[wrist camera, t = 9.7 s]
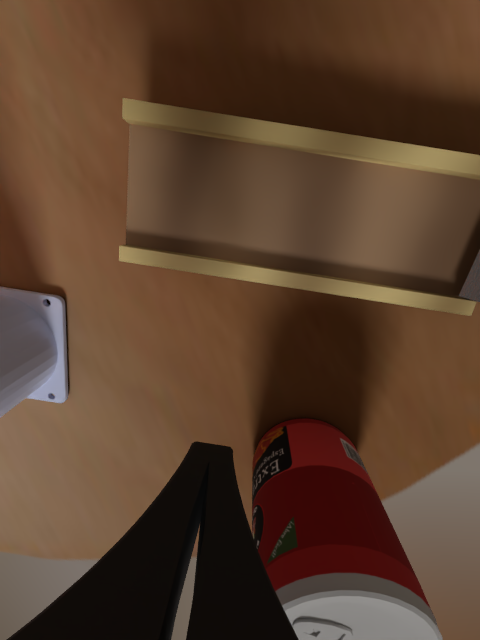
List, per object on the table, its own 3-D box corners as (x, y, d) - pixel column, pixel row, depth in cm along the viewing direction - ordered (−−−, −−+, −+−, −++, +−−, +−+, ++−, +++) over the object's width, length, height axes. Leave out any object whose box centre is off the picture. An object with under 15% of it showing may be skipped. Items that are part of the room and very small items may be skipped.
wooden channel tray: (145, 253, 19) (119, 260, 15) (151, 125, 16) (122, 98, 13) (428, 298, 19) (470, 315, 15) (471, 177, 17) (533, 163, 13)
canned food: (261, 406, 22) (270, 577, 11) (369, 424, 22) (479, 609, 11) (244, 487, 24) (238, 691, 13) (342, 502, 24) (411, 717, 14)
